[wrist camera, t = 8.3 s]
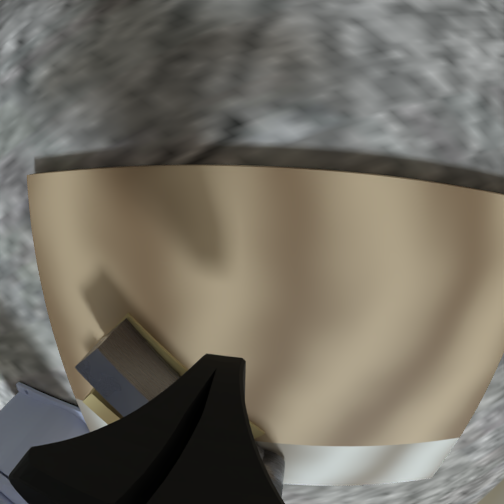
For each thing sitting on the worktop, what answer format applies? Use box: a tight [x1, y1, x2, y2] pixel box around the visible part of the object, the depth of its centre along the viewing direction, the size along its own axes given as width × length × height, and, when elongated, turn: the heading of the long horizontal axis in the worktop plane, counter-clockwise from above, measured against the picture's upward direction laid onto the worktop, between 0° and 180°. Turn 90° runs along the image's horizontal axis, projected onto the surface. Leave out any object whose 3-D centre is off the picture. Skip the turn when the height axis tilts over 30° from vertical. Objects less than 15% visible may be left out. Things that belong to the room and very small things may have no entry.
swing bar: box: [75, 318, 285, 497], centre depth 14 cm, size 14×3×4 cm, turn 39°
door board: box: [27, 165, 504, 486], centre depth 14 cm, size 26×20×4 cm
